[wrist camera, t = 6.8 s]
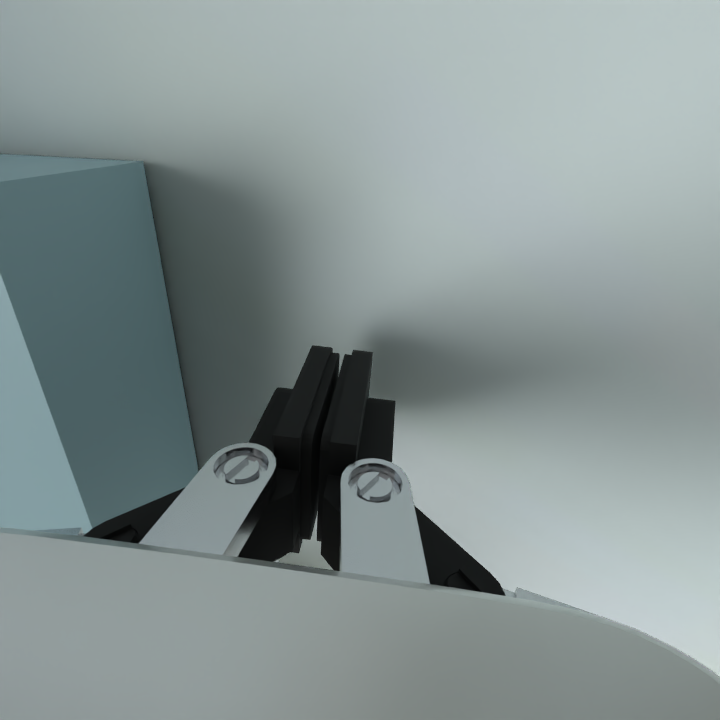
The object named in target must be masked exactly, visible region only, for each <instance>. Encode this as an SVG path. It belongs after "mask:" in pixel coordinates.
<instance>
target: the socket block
mask: <svg viewBox="0 0 720 720" xmlns="http://www.w3.org/2000/svg"><path fill="white" fill-rule="evenodd" d="M198 472H199V471H198V466H197V460H196V455H195V449H194V443H193V438H192V432H191V427H190V421H189V416H188V410H187V404H186V399H185V393H184V388H183V382H182V376H181V371H180V365H179V360H178V354H177V348H176V343H175V337H174V332H173V326H172V321H171V315H170V309H169V304H168V298H167V293H166V287H165V281H164V276H163V270H162V265H161V259H160V253H159V248H158V242H157V237H156V231H155V226H154V220H153V214H152V209H151V203H150V198H149V192H148V186H147V181H146V175H145V170H144V164H143V161H126V160H107V159H89V158H70V157H51V156H32V155H13V154H0V527H4V528H15V529H24V530H48V529H64V528H80V527H82V530H83V533H87V532H89V531H90V530H91V529H92V528H94V527H96V526H97V525H99V524H101V523H103V522H105V521H107V520H109V519H112V518H114V517H116V516H119V515H121V514H124V513H126V512H128V511H131V510H133V509H135V508H138V507H140V506H142V505H145V504H147V503H149V502H152V501H154V500H156V499H159V498H161V497H164V496H166V495H168V494H171V493H173V492H175V491H178V490H180V489H182V488H185V487H186V486H187V485H188V484H189V483H190V481H191V480H192V479H193V478H194V477H195V475H196V474H197V473H198Z"/></svg>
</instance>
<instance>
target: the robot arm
mask: <svg viewBox="0 0 720 720" xmlns="http://www.w3.org/2000/svg"><path fill="white" fill-rule="evenodd" d="M372 355H373V352H367V351H358V350H353V352H352V355H348V354H345V356H344V359H343V363H342V366H341V370H340V373H339V353H333V349H332V348H331V347H322V346H312V347H311V349H310V351H309V354H308V356H307V358H306V361H305V363H304V365H303V367H302V370H301V372H300V374H299V377H298V379H297V381H296V383H295V386H294V388H293V389H288V388H279V387H278V388H277V389H276V390H275V392H274V394H273V396H272V398H271V400H270V402H269V404H268V406H267V408H266V410H265V411H264V413H263V415H262V417H261V419H260V421H259V423H258V425H257V427H256V429H255V431H254V433H253V435H252V437H251V439H250V441H249V443H237V444H233V445H230V446H226V447H224V448H223V449H221V450H219V451H217V452H216V453H215V454H214V455H213V456H212V457H211V458H210V459H209V460H208V461H207V462H206V464H205V465H204V466H203V467H202V468H201V470H200V471H199V472H198V473H197V474H196V475H195V477H194V478H193V479H192V480H191V481H190V483H189V484H188V485H187V486H186V487H185V488H182V489H180V490H178V491H175V492H173V493H171V494H168V495H166V496H164V497H161V498H159V499H156V500H154V501H152V502H149V503H147V504H145V505H142V506H140V507H138V508H135V509H133V510H131V511H128V512H126V513H124V514H121V515H119V516H116V517H114V518H112V519H109V520H107V521H105V522H103V523H101V524H99V525H97V526H96V527H94V528H92V529H91V530H90V531H89V532H87V533H83V530H82V527H80V528H64V529H48V530H24V529H15V528H4V527H0V720H720V677H719V676H718V675H717V674H716V673H714V672H713V671H712V670H710V669H709V668H707V667H706V666H704V665H703V664H701V663H700V662H698V661H697V660H695V659H694V658H692V657H690V656H688V655H687V654H685V653H683V652H681V651H680V650H678V649H676V648H675V647H673V646H671V645H668V644H666V643H664V642H662V641H660V640H658V639H656V638H654V637H652V636H650V635H648V634H646V633H644V632H642V631H640V630H637V629H635V628H632V627H629V626H626V625H624V624H621V623H618V622H616V621H613V620H610V619H607V618H605V617H602V616H598V615H595V614H593V613H590V612H587V611H584V610H581V609H578V608H575V607H572V606H570V605H567V604H564V603H561V602H558V601H555V600H552V599H549V598H546V597H544V596H541V595H538V594H535V593H532V592H529V591H526V590H523V589H521V588H518V587H517V588H516V591H515V593H514V592H511V591H508V590H505V589H503V588H502V587H501V585H500V583H499V582H498V581H497V580H496V579H495V578H494V577H493V576H492V574H491V573H490V572H488V571H487V570H486V569H485V568H484V567H483V566H482V565H481V564H479V563H478V562H477V561H476V560H475V559H474V558H473V557H472V556H470V555H469V554H468V553H467V552H466V551H465V550H464V549H463V548H461V547H460V546H459V545H458V544H457V543H456V542H455V541H454V540H452V539H451V538H450V537H449V536H448V535H447V534H446V533H445V532H443V531H442V530H441V529H440V528H439V527H438V526H437V525H436V524H434V523H433V522H432V521H431V520H430V519H429V518H428V517H427V516H425V515H424V514H423V513H422V512H421V511H420V510H419V509H418V508H416V507H415V506H414V502H413V497H412V492H411V487H410V482H409V480H408V477H407V475H406V474H405V473H404V471H403V470H402V469H401V468H400V467H398V466H397V465H395V464H393V463H392V450H393V432H394V414H395V401H391V400H382V399H374V398H368V397H369V387H370V377H371V366H372ZM338 373H339V377H338ZM317 511H318V520H317V541H321V555H322V556H323V557H324V559H325V560H326V561H327V562H328V564H329V565H330V566H331V567H332V568H333V570H327V569H320V568H313V567H306V566H299V565H291V564H284V563H279V558H281V557H283V556H284V555H286V554H288V553H289V552H294V553H299V551H300V547H301V543H302V539H308V540H310V539H311V536H312V532H313V528H314V524H315V519H316V515H317Z"/></svg>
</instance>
